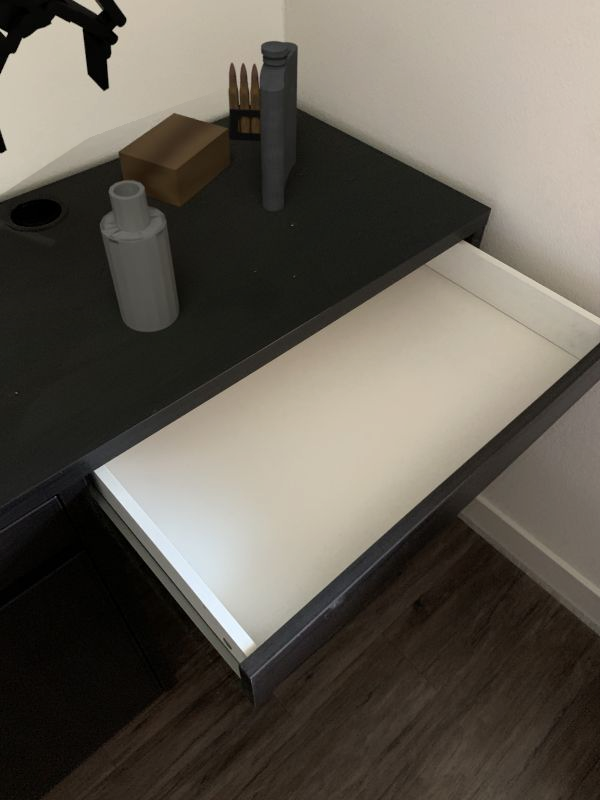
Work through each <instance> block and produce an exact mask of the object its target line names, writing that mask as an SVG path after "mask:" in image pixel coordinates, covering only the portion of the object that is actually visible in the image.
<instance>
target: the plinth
mask: <svg viewBox="0 0 600 800" xmlns="http://www.w3.org/2000/svg"><path fill="white" fill-rule="evenodd" d="M230 150H231V149H230V131H229V127H226V126H221V125H217V124H215V123H210V122H207V121H203V120H200V119H197V118H193V117H190V116H186V115H183V114H180V113H176V112H173V113H171V114H170V115H169V116H168V117H166V118H164V119H163V120H161V121H160V122H158V123H157V124H156V125H155V126H153V127H151V128H150V129H149V130H147V131H146V132H144V133H143V134H142V135H140V136H139V137H137V138H136V139H135V140H133V141H132V142H130V143H128V144H127V145H126V146H124V147H123V148H122V149H120V150H119V151H118V152H117V154H118V159H119V163H120V168H121V173H122V178H123V181H136V182H140V183H141V184H142V185H143V186H144V188H145V193H146V197H148V198H150V199H154V200H157V201H160V202H163V203H166V204H168V205H172V206H175V207H178V208H181V207H183V206H184V205H185V204H186V203H188V202H189V201H190V200H191V199H192V198H193V197H194V196H195V195H197V194H198V193H199V192H200V191H202V190H203V189H204V188H205V187H206V186H208V185H209V184H210V183H211V182H212V181H214V179H216V178H217V177H218V176H219V175H220V174H222V173H223V172H224V171H225V170H226V169H227V168H229V166H231V151H230Z"/></svg>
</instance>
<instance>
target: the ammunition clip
mask: <svg viewBox="0 0 600 800" xmlns="http://www.w3.org/2000/svg"><path fill="white" fill-rule="evenodd" d="M259 78H260V76H259V71H258V67H257V65H256V63H253V64H252V67H251V73H250V88H249V79H248V71H247V67H246V65H245V63H244V62H242V63H241V66H240V71H239V88H238V80H237V71H236V68H235V65H234V63H233V62H230V64H229V69H228V89H227V90H228V107H229V108H228V109H229V110H228V111H229V113H228V114H229V115H228V116H229V121H228V122H229V140H235V141H236V140H237V141H257V142H258V141H259V142H261V127H260V86H259Z"/></svg>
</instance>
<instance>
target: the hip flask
mask: <svg viewBox="0 0 600 800" xmlns="http://www.w3.org/2000/svg"><path fill="white" fill-rule="evenodd" d="M260 53H261V55H262V66H261V67H260V72H259V89H260V127H261V141H260V158H261V162H260V164H261V165H260V167H261V200H262V201H261V202H262V203H261V204H262V208H263V209H264V210H265V211H267V212H270V213H271V212H272V213H274V212H276V213H277V212H279V211H281V210H283V209H284V207H285V189H286V184H287V181H288V178H289V175H290V173H291V171H292V169H294V168H293V167H295V165H296V162H297V121H298V120H297V116H298V115H297V114H298V113H297V111H298V110H297V109H298V108H297V107H298V60H299V57H298V56H299V54H298V53H299V46H298V45H297V44H296V43H295V42H289V41H279V40H270V41H265V42H263V43H262V44H261V45H260Z"/></svg>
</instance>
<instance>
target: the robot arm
mask: <svg viewBox="0 0 600 800" xmlns="http://www.w3.org/2000/svg"><path fill="white" fill-rule="evenodd" d="M94 2H95V3H96V4H97V6H98V7H99V8H100V9H101V11H100V12H99V13H98V14H97V12H95V11H92V10H91V9H89V8H87V7H86V6H84V5H83V4H81V3H78V2H77V1H75V0H0V75H1V74H2V72H3V70H4V67H5V65H6V63H7V61H8V59H9V57H10V55H15V54H17V51H18V49H19V47H20V44H21V42H22V41H23V40H24V39H26V38H28V37H30V36H31V35H33V34H34V33H35V32H37V31H38V30H40V29H44V28H47V27H49V26H50V25H52V21H53V20H54V19H55V17H57V18H58V19H61V20H63V21H64V22H67V23H69V24H71V23H72V24H74V25H76V26H78V27H80V28H81V30H82V40H83V47H84V56H85V64H86V72H87V75H88V77H89V78H90V79H91V80H92V81H93V82H94V83H95V84H96V85H97V86H98V87H99V88H100V89H101V90H102V91H103V92H106V91H107V90H109V89H110V79H109V66H108V59H110V58H111V57H112V52H113V51H112V46H115V44H117V43H118V42H119V35H118V34H116V33H115V32H114V31H113V30H115V28H116V27H118V28H123V27H125V25H126V24H127V22H128V21H127V16H126V15H125V14H124V13H123V11H122V9H121V8H120V7H119V5H118V4H117V3H116V1H115V0H94ZM1 30H2V31H4V32H5V33H7V35H5V34H4V33H3V32H2V31H1ZM6 151H8V149H7V146H6V142H5V140H4V136H3V133H2V130H1V129H0V155H1V154H3V153H5V152H6Z"/></svg>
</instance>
